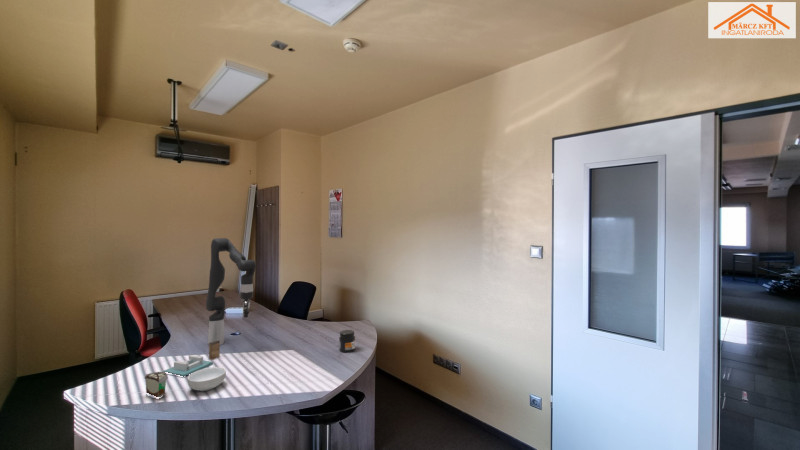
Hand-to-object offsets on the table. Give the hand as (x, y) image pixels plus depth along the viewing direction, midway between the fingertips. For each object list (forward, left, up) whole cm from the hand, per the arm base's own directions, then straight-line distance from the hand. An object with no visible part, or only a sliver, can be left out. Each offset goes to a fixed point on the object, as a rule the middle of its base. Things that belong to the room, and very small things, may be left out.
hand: (246, 315), depth 209 cm
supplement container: (+60, +25, -25) cm, 70 cm away
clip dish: (-14, -29, -25) cm, 40 cm away
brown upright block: (-14, -12, -25) cm, 31 cm away
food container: (0, -55, -25) cm, 60 cm away
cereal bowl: (+16, -42, -25) cm, 51 cm away
